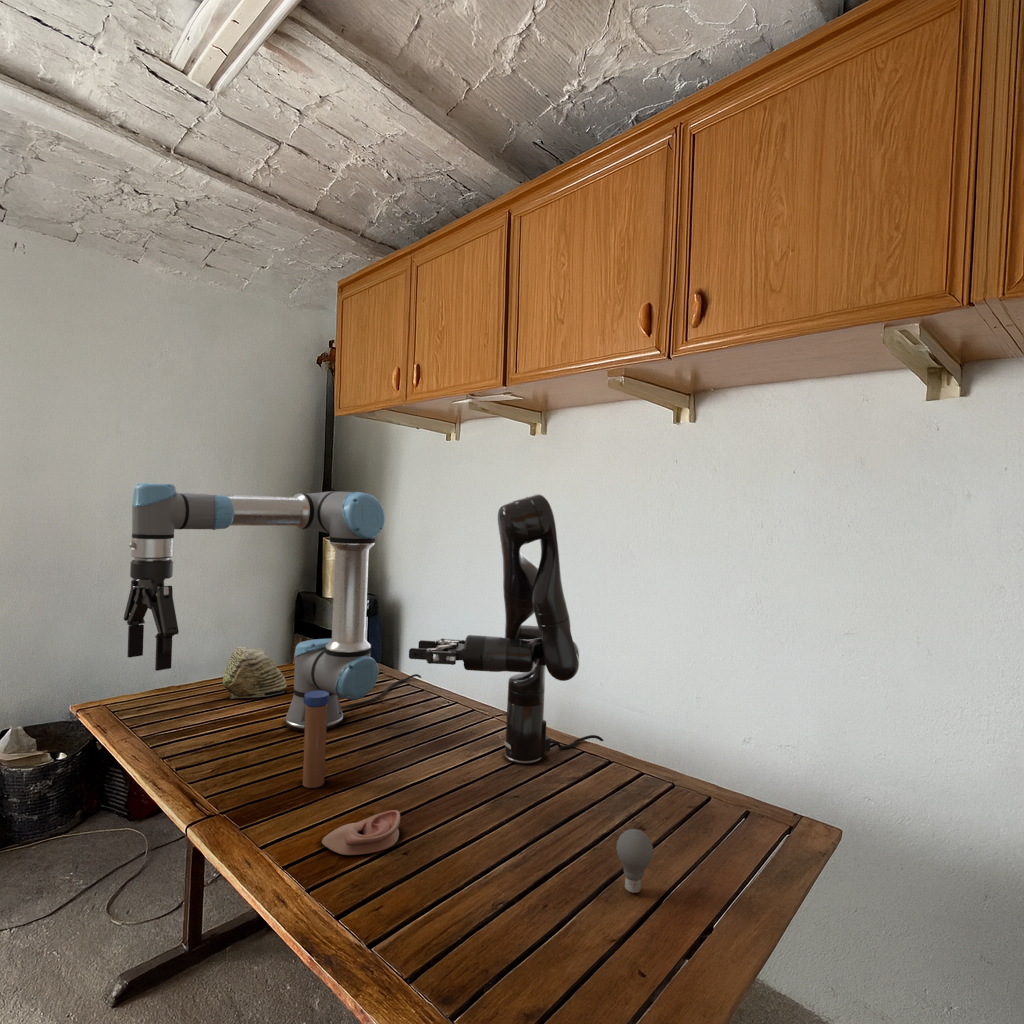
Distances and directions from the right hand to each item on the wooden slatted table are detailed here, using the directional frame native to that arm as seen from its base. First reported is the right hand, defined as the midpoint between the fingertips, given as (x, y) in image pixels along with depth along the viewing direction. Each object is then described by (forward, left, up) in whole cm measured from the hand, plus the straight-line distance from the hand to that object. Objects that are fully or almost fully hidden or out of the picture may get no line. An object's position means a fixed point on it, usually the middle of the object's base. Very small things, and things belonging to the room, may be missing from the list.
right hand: (414, 649), depth 139 cm
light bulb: (-27, +48, -31) cm, 63 cm away
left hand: (+53, -11, -3) cm, 54 cm away
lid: (+19, -8, -11) cm, 24 cm away
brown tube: (+19, -8, -31) cm, 37 cm away
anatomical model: (+13, +19, -31) cm, 38 cm away
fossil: (+31, -76, -31) cm, 88 cm away
